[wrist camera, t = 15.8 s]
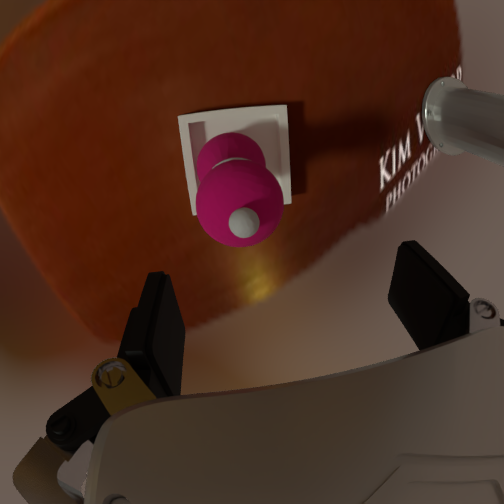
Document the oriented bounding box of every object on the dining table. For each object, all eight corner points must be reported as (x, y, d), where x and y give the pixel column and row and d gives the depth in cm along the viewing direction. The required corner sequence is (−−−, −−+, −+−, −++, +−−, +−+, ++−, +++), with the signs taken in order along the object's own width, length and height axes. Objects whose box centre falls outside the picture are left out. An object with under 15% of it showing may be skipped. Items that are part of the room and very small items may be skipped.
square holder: (281, 104, 32) (286, 105, 29) (286, 196, 38) (291, 203, 35) (180, 115, 31) (177, 116, 29) (194, 207, 37) (192, 215, 35)
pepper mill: (193, 181, 34) (172, 273, 17) (205, 123, 31) (192, 152, 14) (251, 192, 36) (287, 289, 19) (266, 136, 33) (325, 182, 15)
